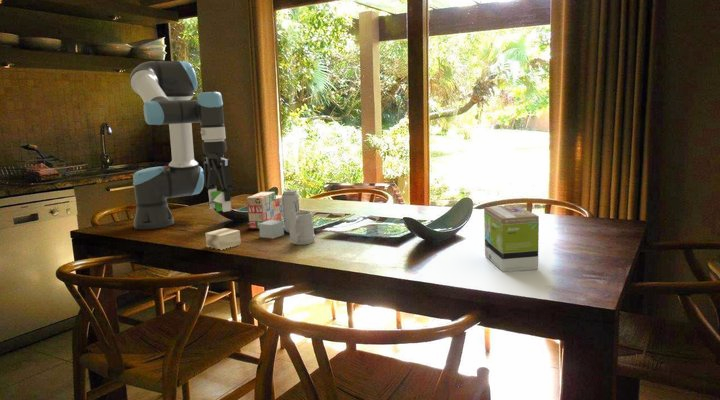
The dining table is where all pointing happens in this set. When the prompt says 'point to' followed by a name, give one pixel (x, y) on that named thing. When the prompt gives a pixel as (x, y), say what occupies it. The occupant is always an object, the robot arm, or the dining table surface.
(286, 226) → the energy drink can
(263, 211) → the stack of blocks
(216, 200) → the geometric puzzle
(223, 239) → the beech block
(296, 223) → the mug
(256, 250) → the dining table surface
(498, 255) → the tea box
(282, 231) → the grey block
